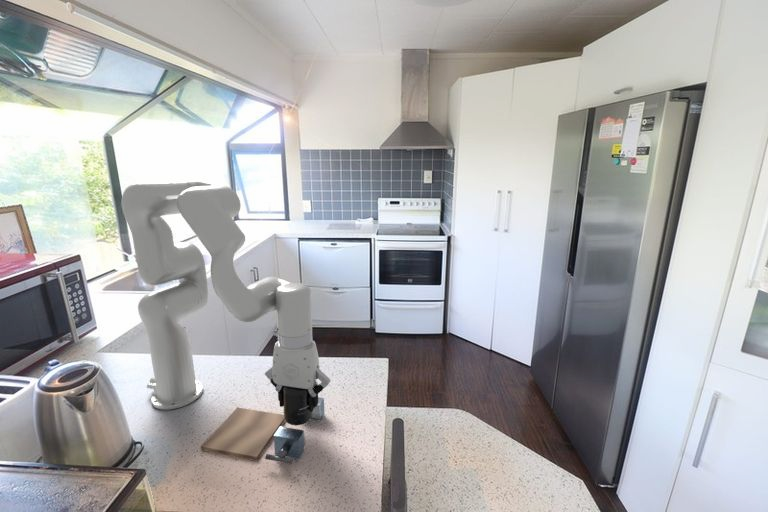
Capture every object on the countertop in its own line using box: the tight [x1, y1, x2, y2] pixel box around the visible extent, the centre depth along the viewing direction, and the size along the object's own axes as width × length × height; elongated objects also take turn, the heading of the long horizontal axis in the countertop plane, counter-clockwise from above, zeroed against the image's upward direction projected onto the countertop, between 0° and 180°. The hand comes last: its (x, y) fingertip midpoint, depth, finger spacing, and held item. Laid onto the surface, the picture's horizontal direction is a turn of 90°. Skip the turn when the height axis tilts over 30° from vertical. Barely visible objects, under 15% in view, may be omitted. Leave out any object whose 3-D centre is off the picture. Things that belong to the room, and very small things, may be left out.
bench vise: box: [264, 396, 325, 465], centre depth 86 cm, size 6×19×5 cm, turn 168°
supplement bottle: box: [283, 386, 313, 427], centre depth 86 cm, size 7×7×12 cm
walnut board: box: [200, 407, 286, 462], centre depth 88 cm, size 14×14×1 cm
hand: (298, 405), depth 86 cm, fingers closed on supplement bottle, 6 cm apart
